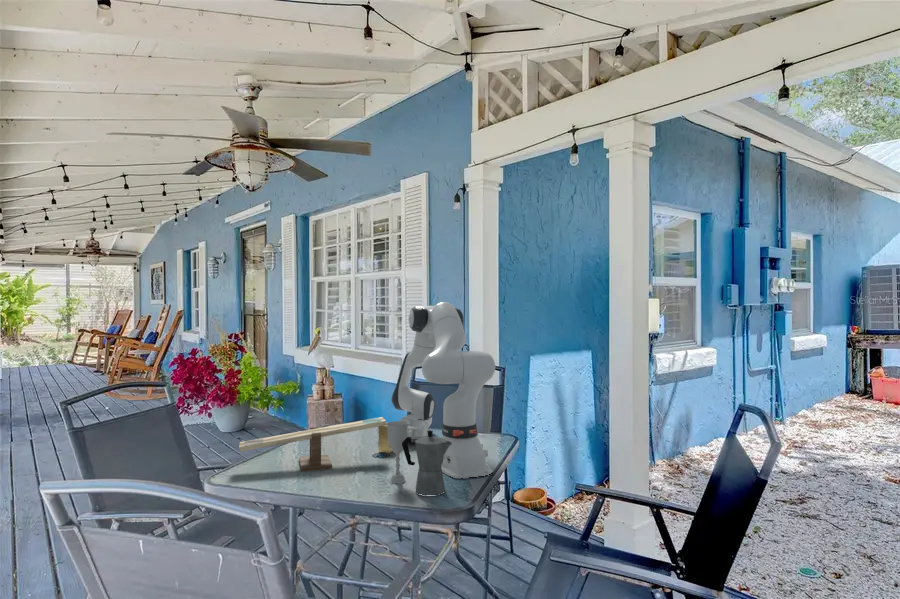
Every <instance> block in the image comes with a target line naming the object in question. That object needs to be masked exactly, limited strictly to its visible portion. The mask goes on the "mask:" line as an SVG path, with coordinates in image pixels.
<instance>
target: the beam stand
mask: <svg viewBox="0 0 900 599" xmlns="http://www.w3.org/2000/svg"><path fill="white" fill-rule="evenodd" d="M317 428H320V427H319V426H310V427H309V430H311V429H317ZM298 461H299V466H300V470H301V471H300V472H301V473H304V472H305V473H306V472H315V471H323V470H325V471H326V470H332V469H333V464H332V463H333V462H331V459H330V456H329V454H322V437H321V432H316V433H312V439H309V455H308V456H300V457H299V460H298Z"/></svg>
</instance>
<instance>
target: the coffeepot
mask: <svg viewBox="0 0 900 599" xmlns="http://www.w3.org/2000/svg"><path fill="white" fill-rule="evenodd" d="M427 432H428V436H426V437H422V438H418V437H406V439H405V440H404V441H403V442H402V447H403V452H404V456H405V459H406V462H407V464H408V465H409V466H415V464H416V462H414V461H412V456H411V454H410V450H409V446H408V444H411V445H415V450H416V456H417V462H418V471H417V476H416V483H415V489H416V490H415V494H416V493H418V494H422V495H439V494H441V493H443V492H445V493H446V487H445V481H444V473H443V472H442V463H443V457H444V454H445V453H446V451H447V449H448V447H449V446H450V445H452V443H451V442H449V441H446V440H444V439H443V438H442V437H437V436H434V435H433V430H431V429H430V430H429V429H428V431H427ZM418 494H417V495H418Z"/></svg>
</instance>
